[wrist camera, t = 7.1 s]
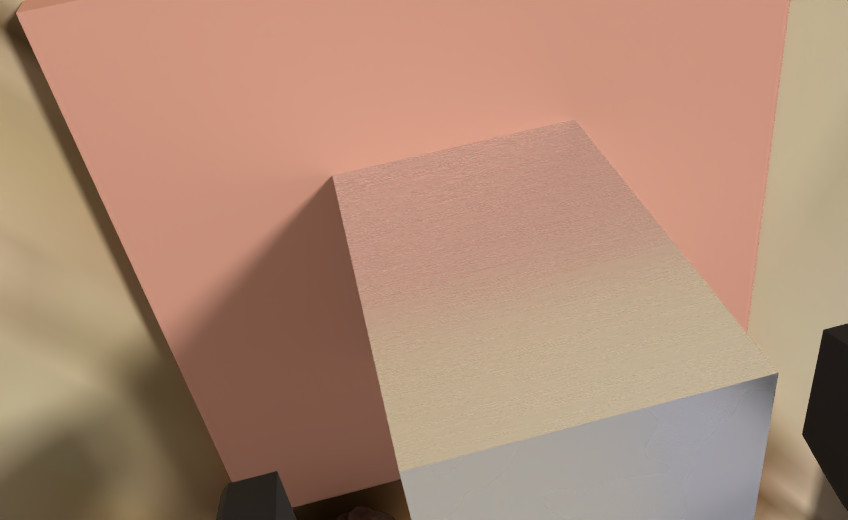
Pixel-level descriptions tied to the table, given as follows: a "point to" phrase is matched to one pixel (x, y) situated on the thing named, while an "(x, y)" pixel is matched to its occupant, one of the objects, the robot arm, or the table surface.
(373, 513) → the bolt
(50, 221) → the table surface
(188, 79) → the mat
